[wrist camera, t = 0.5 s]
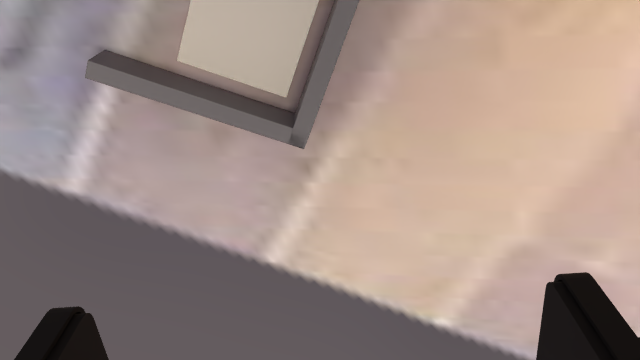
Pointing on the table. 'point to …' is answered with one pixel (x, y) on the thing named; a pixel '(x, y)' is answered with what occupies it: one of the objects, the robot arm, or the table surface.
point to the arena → (240, 63)
